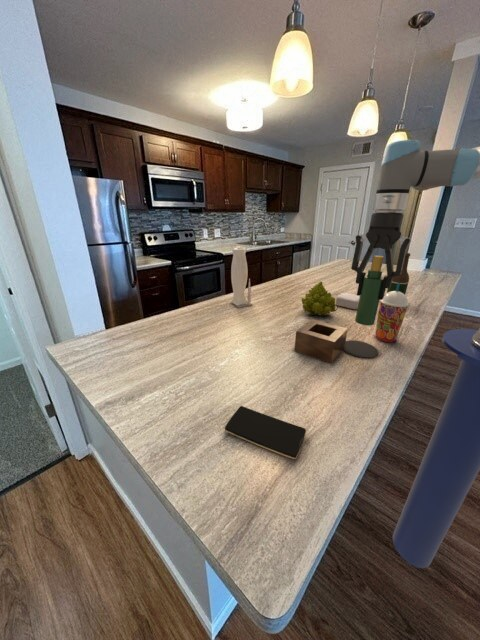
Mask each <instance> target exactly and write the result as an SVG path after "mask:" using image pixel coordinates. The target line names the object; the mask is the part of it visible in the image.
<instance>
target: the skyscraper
mask: <svg viewBox="0 0 480 640" xmlns="http://www.w3.org/2000/svg"><path fill="white" fill-rule="evenodd" d="M233 246H235V247H234V248H233ZM230 247H231V250H232V251H231V252H232V261H231V268H230V269H231V270H230V279H231V287H232V292H233V295H232V299H231V304H232V305H234V307H237V308H238V309H239V308H243V307H250V306H252V305H253V304H252V287H251V278H248V277H249V276H248V274H249V273H248V271H249V270H248V262H247V256H246V253H247V249H248V248H247V246H244V245H243V246H242V245H241V244H239V243H231V244H230ZM247 282H248V287H247ZM246 287H247V300H246V296H245V292H246Z"/></svg>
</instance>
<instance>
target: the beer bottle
mask: <svg viewBox="0 0 480 640" xmlns="http://www.w3.org/2000/svg"><path fill="white" fill-rule="evenodd" d="M410 257H411V253H410V252H406V255H405V260H404V264H403V269H402V273H401V274H400V275H399V276H394V277H393V279H392V283H391V286H390V288H389V289H388V288H386V289H387V290H386V293H388V292H391V291H396V288H397V284H398V283H400V286H399V290H398V291H399V292H402V293H403V294H404V295H405V296H406V293H407V291H408V286H409V281H410V275H409V272H408V266H409V261H410Z"/></svg>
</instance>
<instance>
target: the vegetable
mask: <svg viewBox="0 0 480 640" xmlns="http://www.w3.org/2000/svg"><path fill="white" fill-rule="evenodd" d="M301 304H302V308H303V310H304V312H306V313H308V316H309V317H310V316H314V315H317V316H321V317H325V316H327V315H328V314H331V313H333V312H334V313H335V312H336V311H337V310H338V309H339V306H338V305H336V297H333V296H332V294H331V291H330V292H328V290H327V289H326V288H325V286H324V285H323V281H319V282H318V283H316V284H315V285H314V286H313V287H310V289H308V293H305V297H301Z"/></svg>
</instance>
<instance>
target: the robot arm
mask: <svg viewBox="0 0 480 640" xmlns="http://www.w3.org/2000/svg"><path fill="white" fill-rule="evenodd" d="M421 145H422V144H421V142H420V141H419V140H417V139H402V140H396V141H393V142H390V143H389V144H388V145H386V147H385V148H384V152H383V156H382V159H381V160H382V161H381V163H380V164H381V165H380V169H379V175H378V181H377V185H376V186H377V187H376V191H375V196H374V202H373V207H372V210H373V211H374V212H373V213H371V216H370V222H369V226H368V229H367V231H366V233H364V234H357V235H355V243H356V244H355V249H354V254H353V258H352V263H351V267H350V269H351V270H352V271H354V272H356V278H355V284H357V285H358V287H357V292H356V295H358V296H360V293H361V288H362V283H363V278H364V276H366V273H367V272H364V271H365V269H366V267H367V265H368V263H369V261H370V259H371V257H372V255H373V254H374V251H375V250H376V249H382V250H384V253H385V264H386V275H385V276H383V278H384V279H383V283H382V287H381V292H380V296H379V301H380V300H382V299H383V298H384V295H385V294H386V291H387V290H386V289H389V288H390V286H391V283H392V279H393V277H394V276H399V275H400V274H401V273H402V269H403V264H404V260H405V255H406V253H407V249H408V246H409V245H410V243H411V242H412V238H411V237H407V236H404V235H402V232H401V229H402V224H403V220H404V216H405V214H404V213H403V211H405V210H406V209H407V208H406V207H407V204H408V200H409V196H410V190H411V188H412V189H413V190H415V191H419V192H423V191H428V190H431V189H435V188H439V187H450V188H451V187H452V188H453V187H458V186H459V187H460V186H465V185H467V184H469V182H470V181H471V180H475V179H479V178H480V146H477V147H472V148H463V147H461V148H455V149H454V148H453V149H438V150H437V149H436V150H422V149H421ZM366 239H367V241H368V243H369V246H368V248H367V250H366V252H365V254H364V256H363V258H362V260H361V262H360V259H361V255H362V250H363V246H364V242H366ZM398 241H399V245H400V248H399V253H398V258H397V262H396V268H394V258H393V257H394V256H393V246H394V244H396V243H397V242H398ZM394 269H395V271H394ZM477 330H478V331H477V332H476V333H475V334H474V335H473V337H472V339H471V343H472V344H473V345H474V346H475V347H476V348H478V349H480V328H478V329H477Z"/></svg>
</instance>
